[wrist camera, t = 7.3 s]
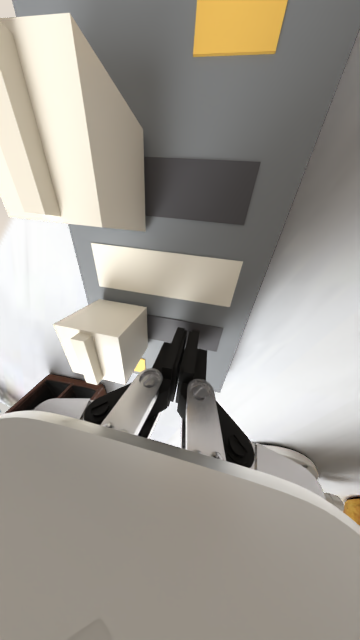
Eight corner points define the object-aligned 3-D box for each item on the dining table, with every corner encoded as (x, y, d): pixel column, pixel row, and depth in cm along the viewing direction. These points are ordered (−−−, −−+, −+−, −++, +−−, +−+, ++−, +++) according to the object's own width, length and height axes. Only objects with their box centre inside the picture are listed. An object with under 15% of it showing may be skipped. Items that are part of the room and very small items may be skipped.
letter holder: (86, 430, 33) (15, 539, 21) (50, 371, 24) (-120, 511, 12) (125, 441, 32) (73, 564, 20) (105, 383, 22) (-24, 557, 10)
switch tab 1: (143, 129, 7) (42, -31, 3) (145, 231, 9) (90, 226, 5) (65, 127, 7) (-118, -11, 3) (85, 225, 9) (-11, 215, 5)
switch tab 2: (146, 307, 11) (111, 344, 7) (147, 346, 13) (120, 392, 9) (99, 298, 12) (42, 330, 8) (107, 338, 14) (65, 379, 10)
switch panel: (353, -11, 5) (422, -132, 4) (218, 376, 17) (219, 393, 15) (50, 14, 7) (-7, -64, 5) (114, 353, 18) (103, 366, 16)
